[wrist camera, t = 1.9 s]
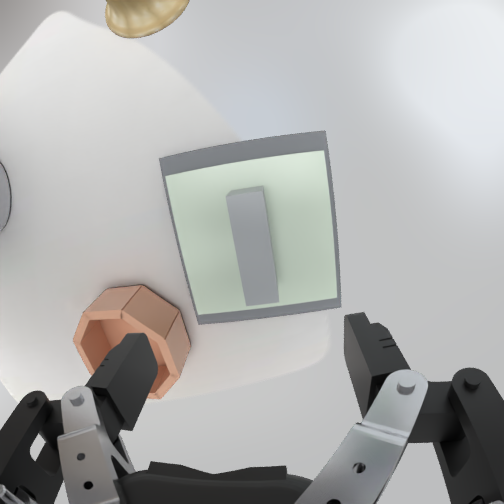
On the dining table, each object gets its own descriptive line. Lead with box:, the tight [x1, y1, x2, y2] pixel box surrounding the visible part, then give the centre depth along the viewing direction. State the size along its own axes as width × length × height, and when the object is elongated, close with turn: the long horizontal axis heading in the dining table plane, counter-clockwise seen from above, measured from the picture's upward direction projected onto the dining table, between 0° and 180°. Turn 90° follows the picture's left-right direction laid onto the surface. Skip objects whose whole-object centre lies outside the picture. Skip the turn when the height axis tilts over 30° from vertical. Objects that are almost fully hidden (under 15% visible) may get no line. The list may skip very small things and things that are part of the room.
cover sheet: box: [165, 150, 337, 315], centre depth 22 cm, size 12×12×4 cm
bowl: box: [73, 285, 191, 399], centre depth 26 cm, size 10×10×5 cm
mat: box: [159, 131, 341, 325], centre depth 24 cm, size 15×13×1 cm
